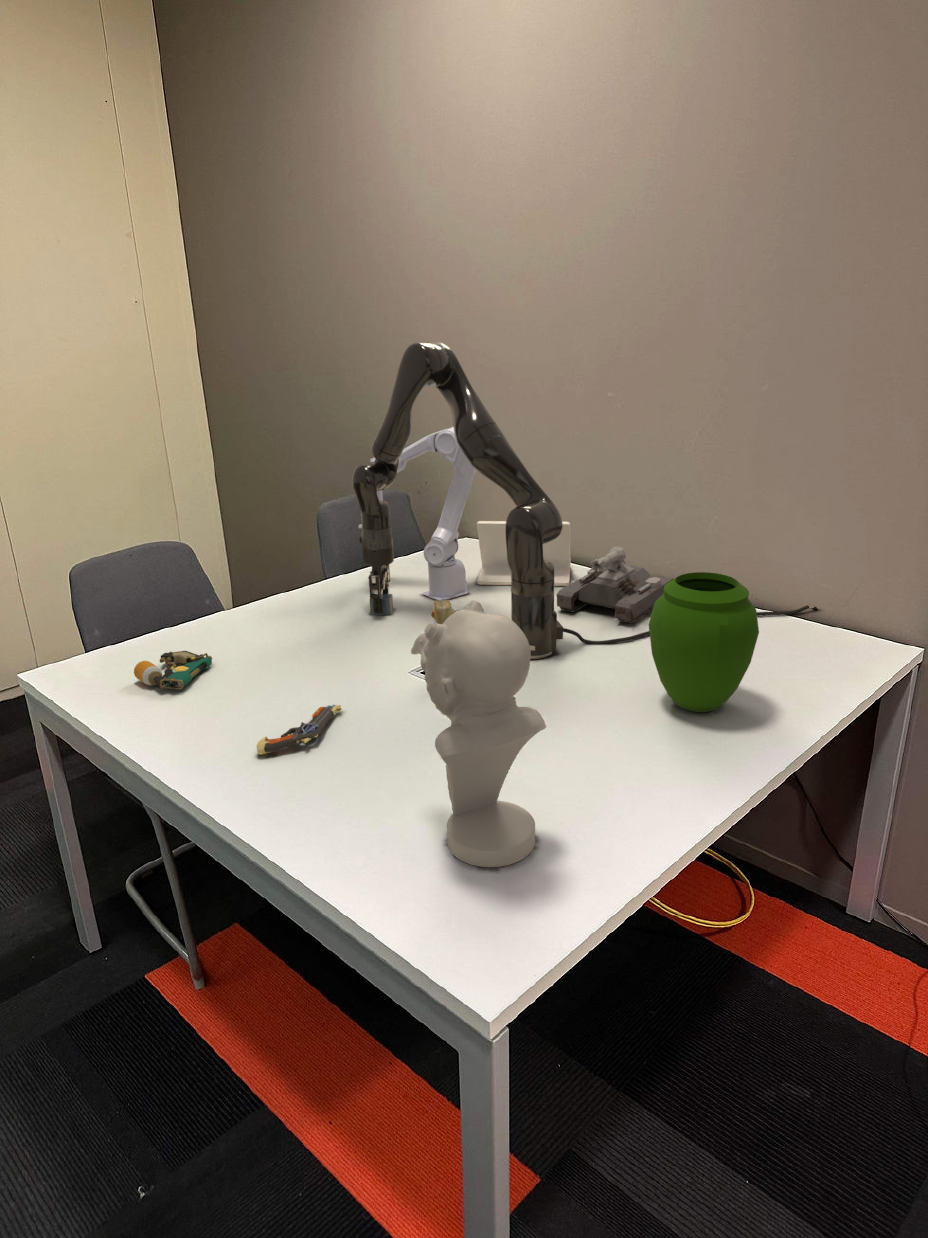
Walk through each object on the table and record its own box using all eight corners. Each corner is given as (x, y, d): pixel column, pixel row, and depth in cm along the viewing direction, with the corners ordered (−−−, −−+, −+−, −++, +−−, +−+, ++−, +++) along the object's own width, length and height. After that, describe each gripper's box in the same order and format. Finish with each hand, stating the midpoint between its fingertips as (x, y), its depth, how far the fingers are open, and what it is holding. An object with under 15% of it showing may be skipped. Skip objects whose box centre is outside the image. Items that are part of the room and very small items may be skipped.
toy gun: (251, 744, 146) (305, 742, 144) (292, 702, 164) (341, 700, 162) (254, 759, 147) (308, 756, 145) (295, 715, 165) (344, 713, 163)
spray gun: (177, 659, 191) (231, 671, 185) (120, 684, 176) (176, 698, 171) (176, 641, 190) (230, 653, 184) (118, 665, 175) (174, 678, 169)
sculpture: (458, 662, 183) (456, 596, 178) (460, 676, 176) (457, 608, 171) (431, 663, 183) (428, 597, 177) (431, 677, 176) (428, 609, 171)
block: (373, 609, 217) (372, 593, 215) (393, 609, 216) (392, 593, 215) (370, 614, 213) (369, 599, 211) (390, 615, 212) (389, 599, 211)
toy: (603, 584, 229) (605, 530, 224) (673, 597, 218) (677, 540, 213) (555, 612, 210) (556, 553, 205) (630, 627, 199) (633, 566, 194)
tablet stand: (569, 585, 229) (570, 524, 223) (476, 584, 232) (475, 523, 226) (570, 566, 246) (571, 508, 240) (484, 564, 249) (483, 507, 243)
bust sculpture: (481, 772, 140) (476, 569, 128) (565, 848, 120) (569, 617, 108) (392, 800, 134) (378, 588, 121) (465, 886, 114) (457, 642, 101)
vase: (763, 694, 164) (775, 574, 156) (734, 737, 149) (746, 606, 140) (665, 674, 174) (672, 560, 166) (628, 712, 159) (634, 588, 150)
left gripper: (363, 502, 231) (366, 550, 236) (351, 515, 218) (355, 566, 222) (389, 502, 230) (392, 550, 235) (378, 515, 217) (381, 566, 222)
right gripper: (368, 536, 215) (372, 597, 221) (355, 552, 202) (360, 617, 208) (397, 536, 215) (401, 597, 220) (387, 552, 201) (391, 617, 207)
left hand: (375, 558), depth 229 cm, fingers open, 7 cm apart
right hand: (381, 606), depth 214 cm, fingers open, 7 cm apart
